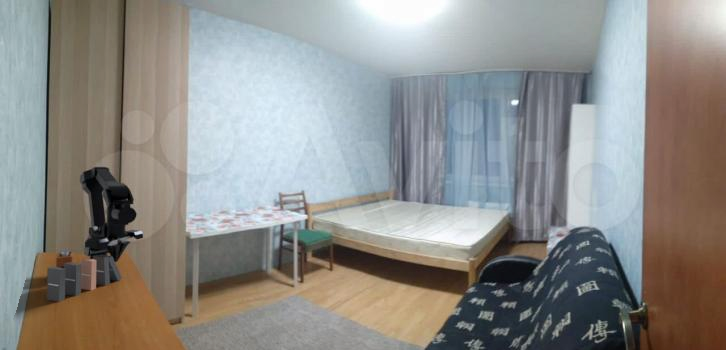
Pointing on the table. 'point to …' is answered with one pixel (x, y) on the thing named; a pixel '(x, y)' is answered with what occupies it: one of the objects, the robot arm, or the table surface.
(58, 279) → the domino
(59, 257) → the battery
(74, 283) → the domino
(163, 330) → the table surface
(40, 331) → the table surface
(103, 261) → the domino
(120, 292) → the table surface
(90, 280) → the domino
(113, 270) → the domino
